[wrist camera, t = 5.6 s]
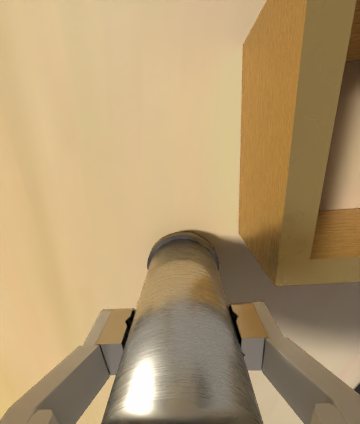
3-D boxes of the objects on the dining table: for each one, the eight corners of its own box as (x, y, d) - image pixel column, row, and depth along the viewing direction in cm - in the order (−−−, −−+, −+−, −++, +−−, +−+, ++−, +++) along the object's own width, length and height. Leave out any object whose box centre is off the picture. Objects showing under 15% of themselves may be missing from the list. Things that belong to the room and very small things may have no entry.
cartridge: (153, 291, 13) (96, 560, 4) (144, 234, 11) (26, 477, 3) (217, 287, 13) (287, 564, 4) (216, 229, 11) (325, 476, 3)
